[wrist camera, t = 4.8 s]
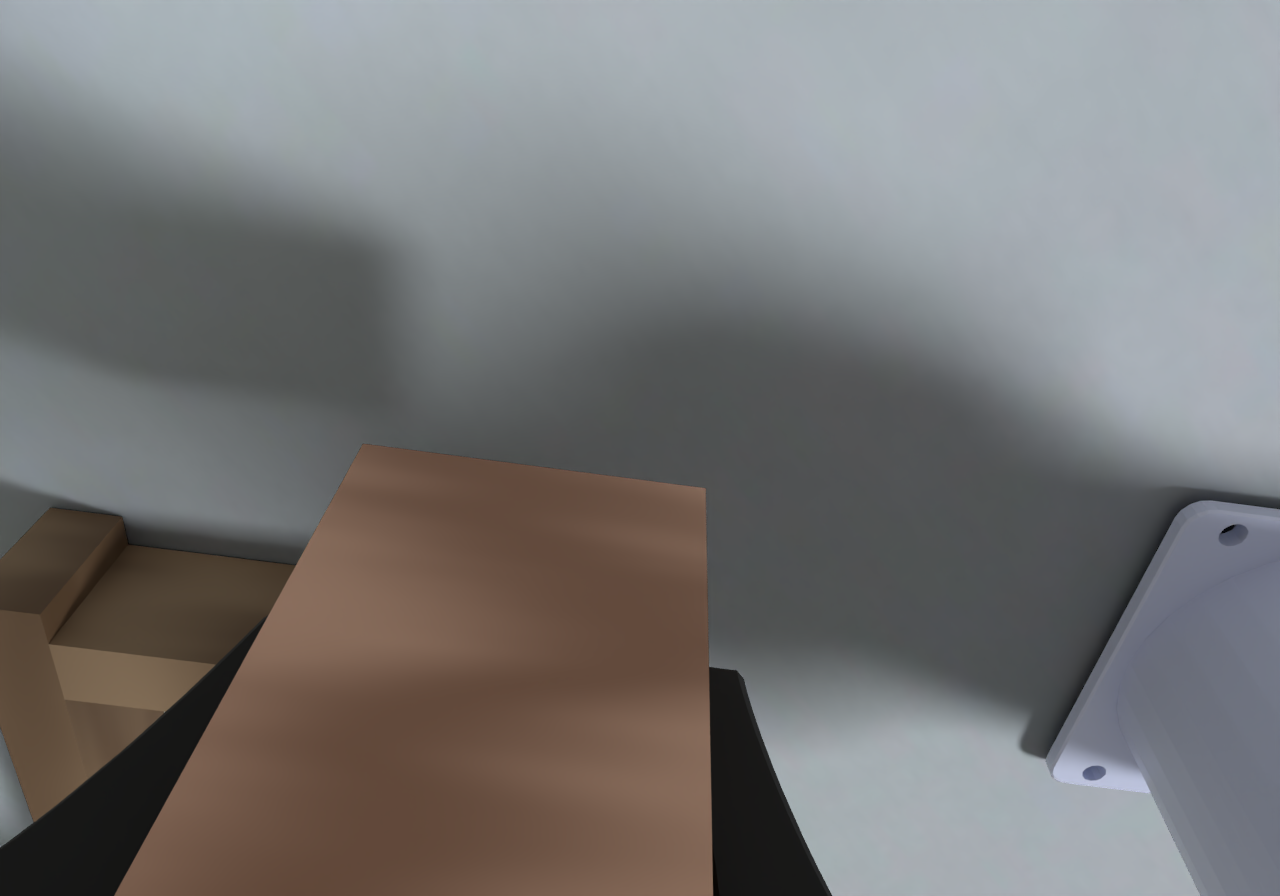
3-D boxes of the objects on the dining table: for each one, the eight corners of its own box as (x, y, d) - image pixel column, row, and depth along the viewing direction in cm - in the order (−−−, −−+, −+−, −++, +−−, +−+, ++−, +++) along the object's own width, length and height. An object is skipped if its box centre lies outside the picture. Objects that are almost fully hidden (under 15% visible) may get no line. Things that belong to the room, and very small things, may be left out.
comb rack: (571, 573, 20) (555, 677, 18) (519, 1041, 31) (504, 1148, 28) (49, 507, 20) (-43, 604, 17) (180, 1003, 31) (134, 1107, 28)
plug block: (705, 488, 12) (716, 1066, 7) (659, 721, 15) (636, 1296, 9) (362, 443, 12) (61, 992, 6) (372, 686, 15) (158, 1246, 9)
